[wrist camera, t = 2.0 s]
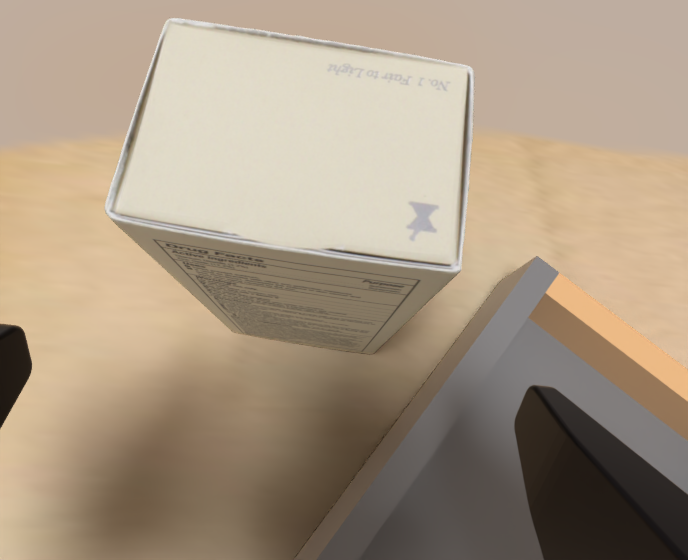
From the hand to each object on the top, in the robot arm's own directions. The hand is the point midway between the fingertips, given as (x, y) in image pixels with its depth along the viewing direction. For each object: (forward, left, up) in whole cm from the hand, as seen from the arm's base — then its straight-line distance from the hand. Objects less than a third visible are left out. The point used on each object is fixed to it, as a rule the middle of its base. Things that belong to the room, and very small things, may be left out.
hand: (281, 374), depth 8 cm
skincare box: (+2, -3, -11) cm, 12 cm away
